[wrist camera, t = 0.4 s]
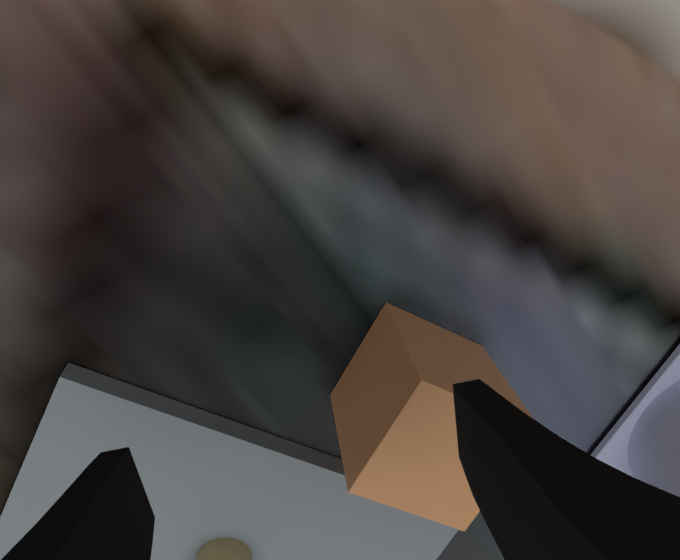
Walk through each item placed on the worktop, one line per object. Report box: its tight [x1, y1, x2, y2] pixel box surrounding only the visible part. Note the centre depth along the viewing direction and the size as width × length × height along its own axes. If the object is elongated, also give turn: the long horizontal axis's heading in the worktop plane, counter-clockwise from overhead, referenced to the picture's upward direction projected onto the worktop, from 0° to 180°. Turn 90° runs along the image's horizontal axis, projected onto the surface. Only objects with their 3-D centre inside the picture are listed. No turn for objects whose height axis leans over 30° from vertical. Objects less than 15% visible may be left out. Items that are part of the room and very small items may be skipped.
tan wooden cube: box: [330, 302, 532, 532], centre depth 21 cm, size 5×5×6 cm
